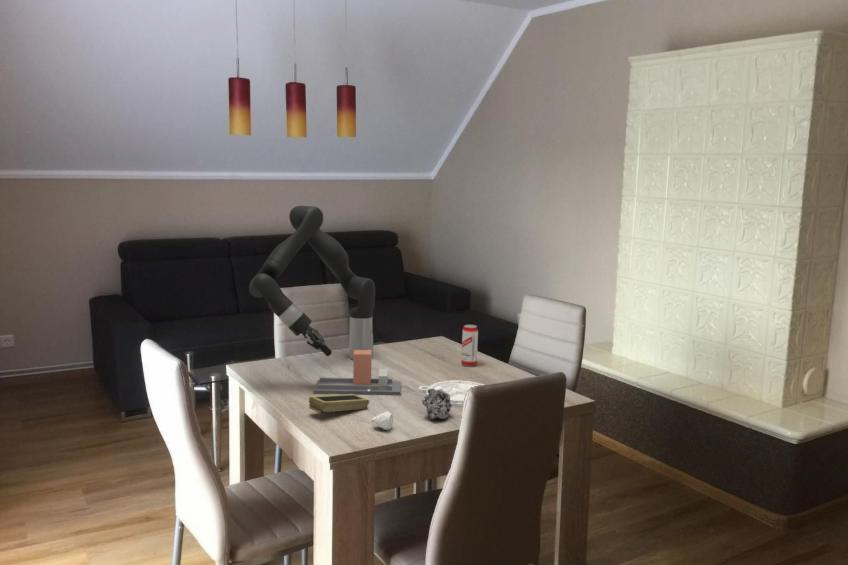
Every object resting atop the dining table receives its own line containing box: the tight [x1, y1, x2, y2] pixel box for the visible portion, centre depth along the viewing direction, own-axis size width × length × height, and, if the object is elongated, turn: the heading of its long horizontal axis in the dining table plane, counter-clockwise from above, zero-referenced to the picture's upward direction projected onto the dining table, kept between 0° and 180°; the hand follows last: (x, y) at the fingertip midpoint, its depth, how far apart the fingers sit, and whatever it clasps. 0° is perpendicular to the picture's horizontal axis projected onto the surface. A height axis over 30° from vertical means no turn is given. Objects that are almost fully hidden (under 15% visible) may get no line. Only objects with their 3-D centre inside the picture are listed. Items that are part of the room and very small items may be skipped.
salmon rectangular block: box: [352, 350, 373, 385], centre depth 254 cm, size 6×6×12 cm
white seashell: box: [371, 411, 394, 431], centre depth 218 cm, size 6×6×5 cm
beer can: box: [460, 324, 479, 368], centre depth 288 cm, size 6×6×16 cm
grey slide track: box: [313, 368, 402, 396], centre depth 255 cm, size 30×12×6 cm, turn 92°
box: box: [308, 394, 370, 414], centre depth 233 cm, size 8×22×5 cm, turn 136°
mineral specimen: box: [421, 389, 453, 421], centre depth 230 cm, size 13×10×11 cm
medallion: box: [418, 379, 484, 408], centre depth 252 cm, size 24×27×2 cm
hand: (330, 354), depth 253 cm, fingers closed
